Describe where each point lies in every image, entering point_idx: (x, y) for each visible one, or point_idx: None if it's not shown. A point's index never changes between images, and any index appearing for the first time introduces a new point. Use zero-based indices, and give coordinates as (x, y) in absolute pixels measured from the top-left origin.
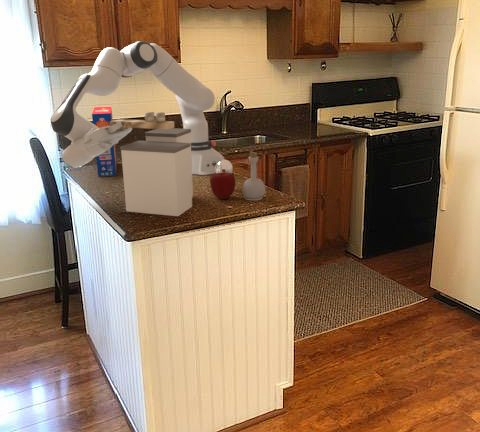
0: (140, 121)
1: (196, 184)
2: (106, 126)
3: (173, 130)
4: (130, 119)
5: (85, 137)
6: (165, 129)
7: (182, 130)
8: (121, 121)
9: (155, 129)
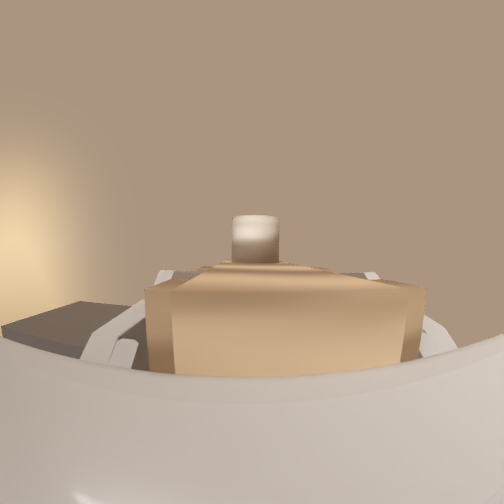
0: (270, 264)
1: None
2: (475, 344)
3: (98, 314)
4: (169, 272)
5: None
6: (60, 323)
7: (107, 307)
8: (337, 273)
9: (39, 337)
